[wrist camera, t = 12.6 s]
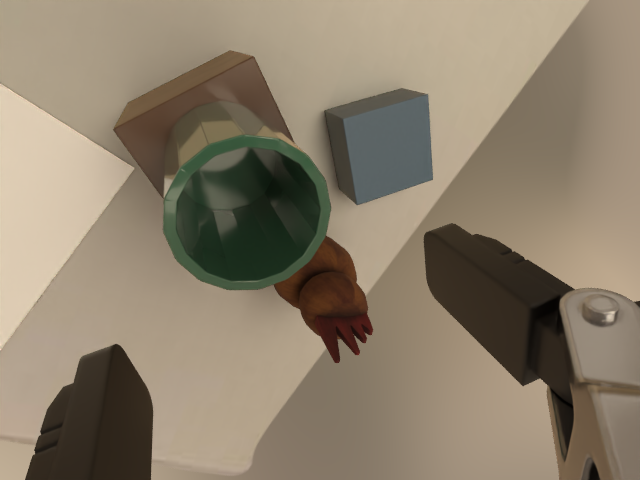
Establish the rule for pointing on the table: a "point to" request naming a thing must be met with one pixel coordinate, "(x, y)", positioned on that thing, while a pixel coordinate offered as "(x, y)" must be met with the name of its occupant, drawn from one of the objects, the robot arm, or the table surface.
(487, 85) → the table surface
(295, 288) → the wooden figurine
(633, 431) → the robot arm
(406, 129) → the slate block
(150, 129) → the walnut block
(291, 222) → the cup
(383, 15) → the table surface
